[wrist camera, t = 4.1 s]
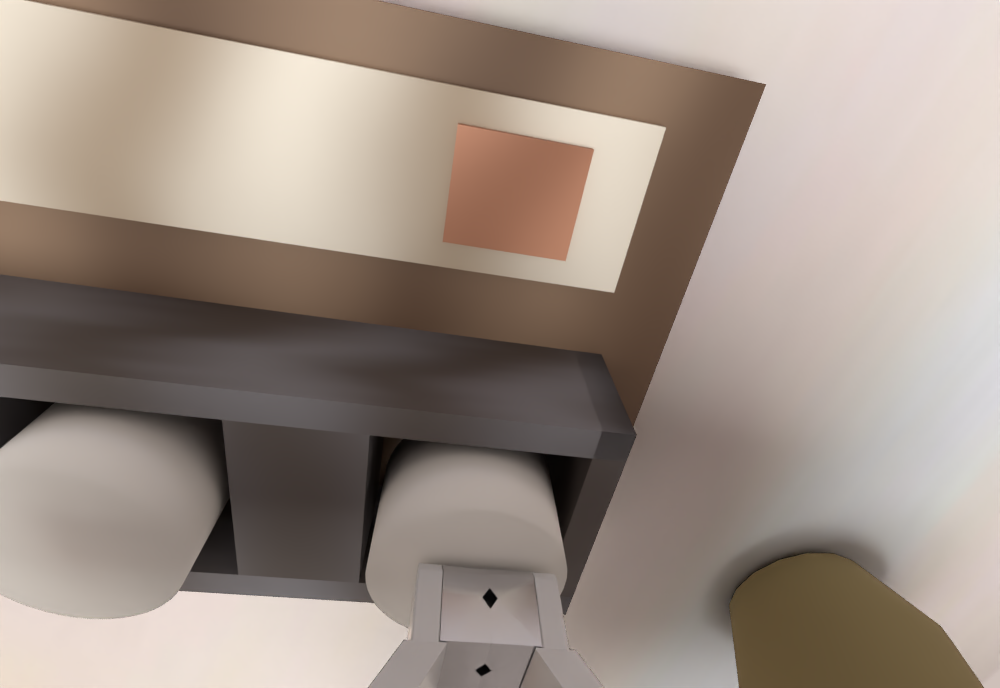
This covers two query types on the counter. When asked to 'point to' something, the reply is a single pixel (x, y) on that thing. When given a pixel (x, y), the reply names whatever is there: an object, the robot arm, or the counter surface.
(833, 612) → the squeeze bottle
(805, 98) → the counter surface
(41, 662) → the counter surface
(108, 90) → the button board
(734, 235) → the counter surface
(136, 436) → the button middle
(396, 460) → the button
